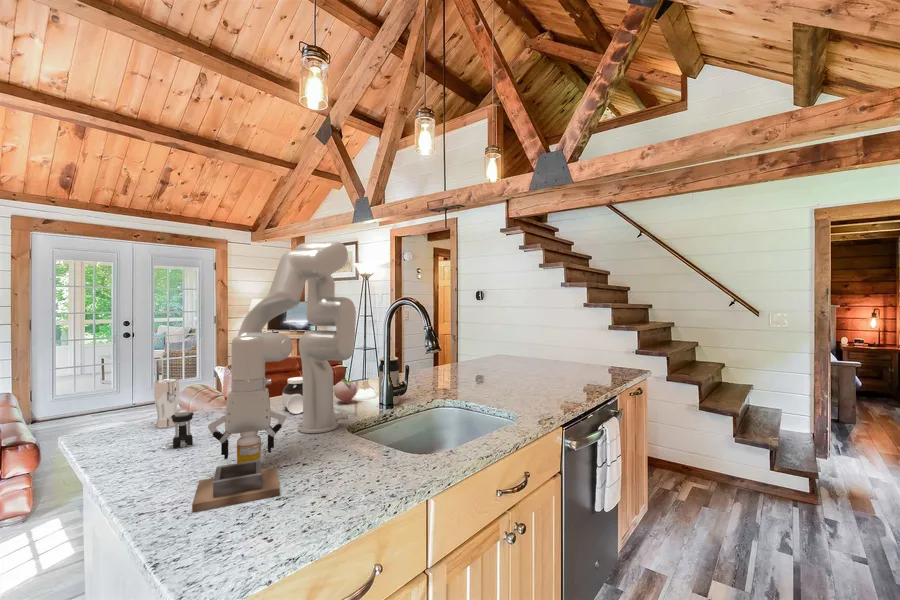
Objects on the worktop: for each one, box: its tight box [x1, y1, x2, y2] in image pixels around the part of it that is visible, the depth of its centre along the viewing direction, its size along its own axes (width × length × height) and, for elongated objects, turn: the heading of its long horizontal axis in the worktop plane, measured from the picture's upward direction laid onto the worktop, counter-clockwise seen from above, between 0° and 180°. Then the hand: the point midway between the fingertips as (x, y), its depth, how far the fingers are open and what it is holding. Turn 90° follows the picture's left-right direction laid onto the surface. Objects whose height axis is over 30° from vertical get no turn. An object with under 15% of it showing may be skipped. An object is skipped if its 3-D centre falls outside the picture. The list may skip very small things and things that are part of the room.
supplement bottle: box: [236, 431, 262, 464], centre depth 103 cm, size 5×5×10 cm
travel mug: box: [378, 356, 400, 405], centre depth 165 cm, size 8×8×18 cm
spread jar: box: [281, 376, 303, 415], centre depth 155 cm, size 12×11×12 cm
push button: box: [165, 409, 194, 449], centre depth 118 cm, size 7×5×10 cm
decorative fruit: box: [333, 377, 357, 404], centre depth 165 cm, size 9×8×10 cm
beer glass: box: [153, 378, 180, 429], centre depth 137 cm, size 7×7×15 cm
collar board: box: [191, 459, 281, 513], centre depth 90 cm, size 16×12×4 cm
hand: (248, 454), depth 102 cm, fingers open, 9 cm apart
